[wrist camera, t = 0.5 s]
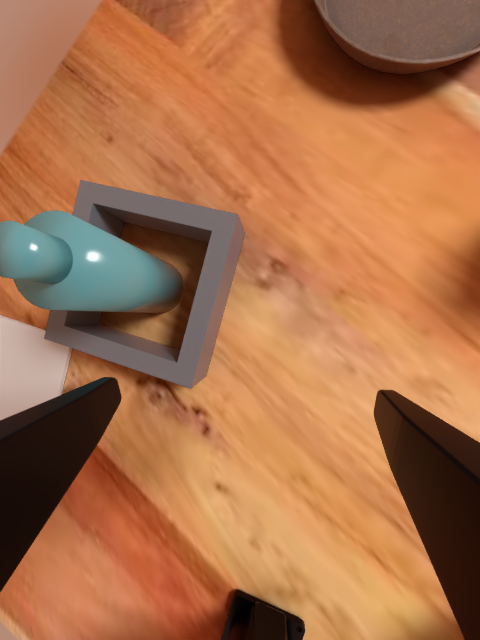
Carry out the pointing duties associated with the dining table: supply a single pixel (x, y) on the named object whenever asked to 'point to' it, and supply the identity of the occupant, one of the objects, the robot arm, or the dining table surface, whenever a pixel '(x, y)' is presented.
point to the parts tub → (209, 302)
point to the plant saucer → (403, 32)
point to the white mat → (29, 367)
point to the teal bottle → (84, 267)
